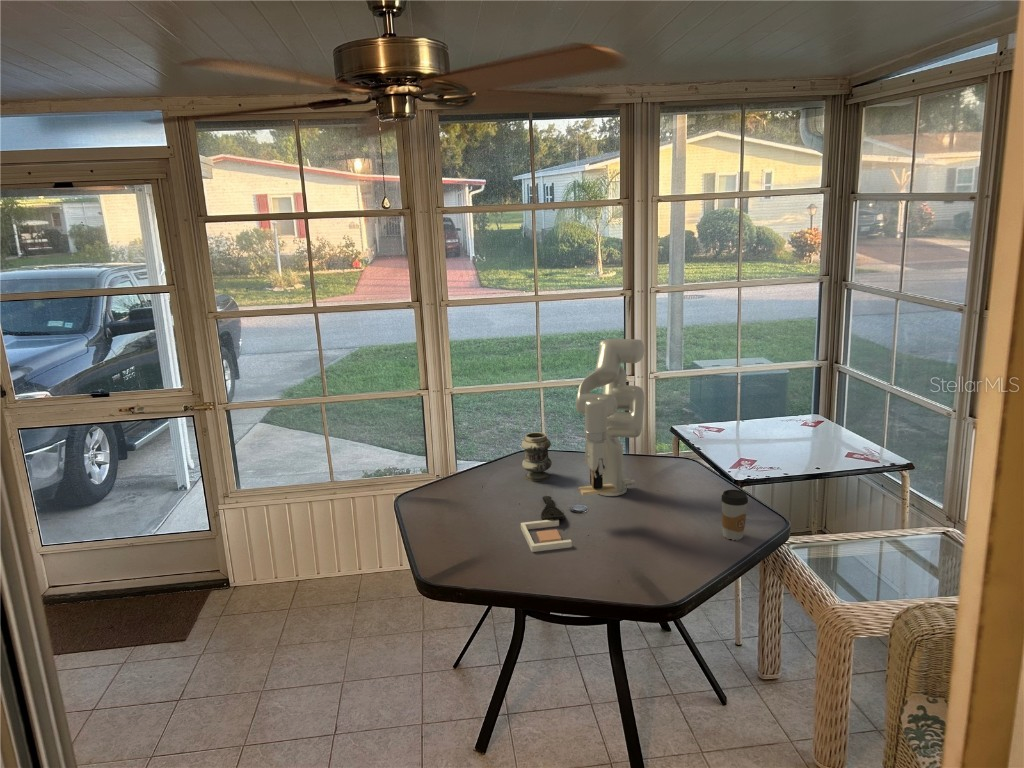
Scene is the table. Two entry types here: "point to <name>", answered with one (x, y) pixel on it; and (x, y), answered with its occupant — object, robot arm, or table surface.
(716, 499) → the table surface
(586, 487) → the tan l-shaped bookend
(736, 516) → the coffee cup
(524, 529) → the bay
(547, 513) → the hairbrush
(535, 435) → the carved stone vase
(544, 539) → the tile
